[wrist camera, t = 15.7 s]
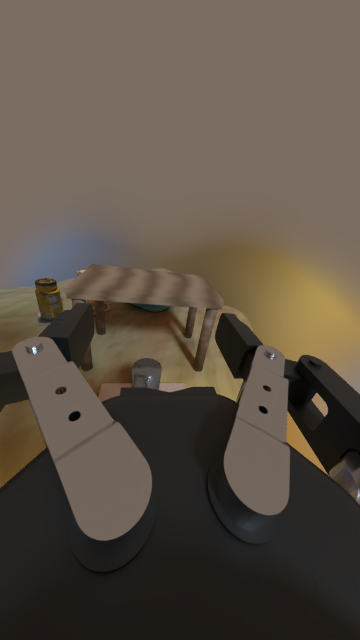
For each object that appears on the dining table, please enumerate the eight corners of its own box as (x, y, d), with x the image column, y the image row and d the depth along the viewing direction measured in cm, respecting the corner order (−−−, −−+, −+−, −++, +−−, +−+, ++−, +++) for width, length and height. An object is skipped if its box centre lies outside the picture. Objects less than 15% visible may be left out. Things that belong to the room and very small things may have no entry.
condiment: (63, 310, 66) (58, 276, 60) (67, 321, 60) (61, 285, 54) (37, 313, 62) (29, 277, 56) (39, 326, 56) (29, 287, 50)
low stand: (78, 371, 43) (65, 287, 34) (97, 329, 58) (92, 264, 49) (204, 372, 48) (223, 300, 39) (191, 333, 64) (202, 275, 55)
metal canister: (130, 429, 33) (130, 378, 27) (132, 406, 37) (133, 358, 31) (156, 427, 34) (162, 378, 28) (155, 405, 37) (160, 358, 32)
